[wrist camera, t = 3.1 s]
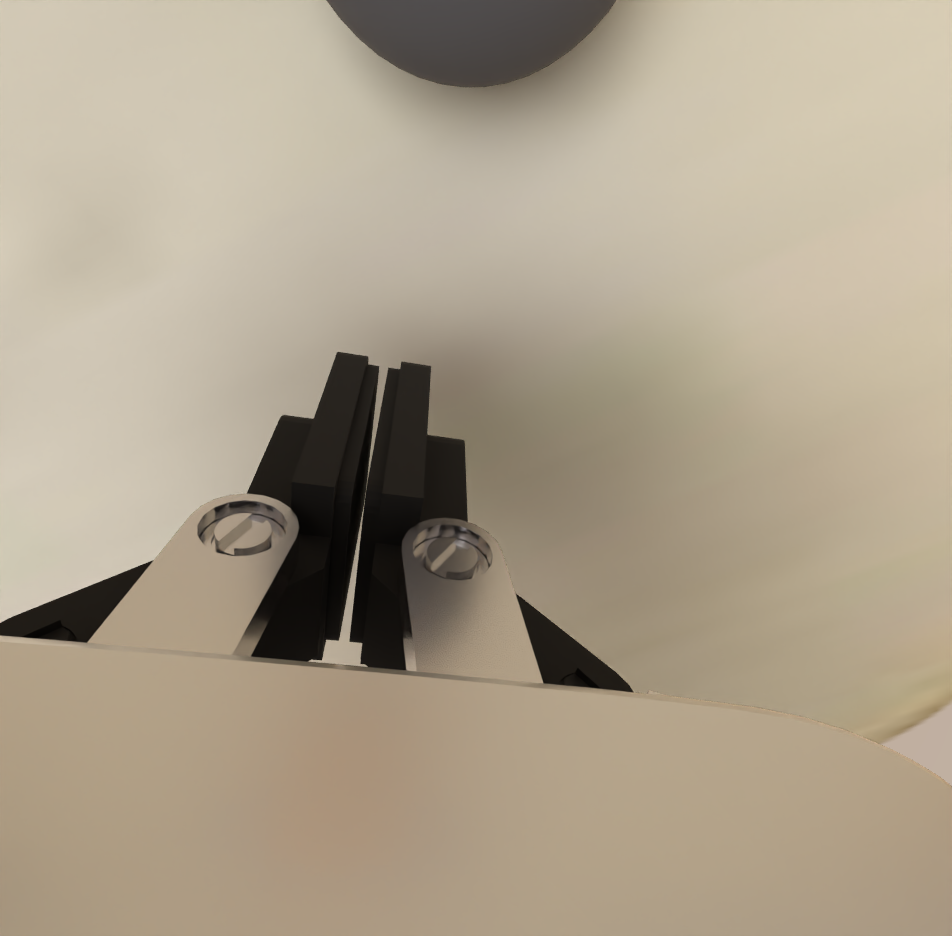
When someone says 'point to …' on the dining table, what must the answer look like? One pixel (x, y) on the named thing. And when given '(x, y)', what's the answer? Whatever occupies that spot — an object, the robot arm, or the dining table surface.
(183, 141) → the dining table surface
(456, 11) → the dark grey ball
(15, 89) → the dining table surface
